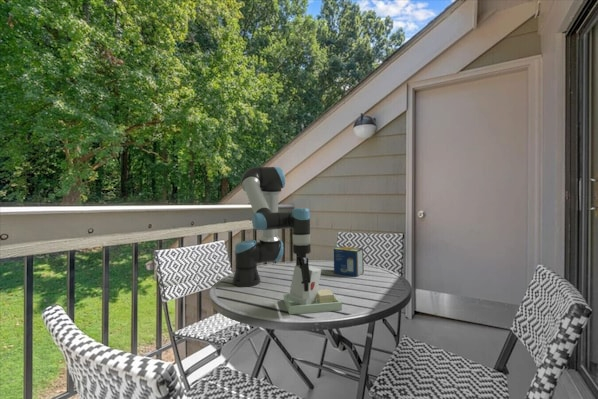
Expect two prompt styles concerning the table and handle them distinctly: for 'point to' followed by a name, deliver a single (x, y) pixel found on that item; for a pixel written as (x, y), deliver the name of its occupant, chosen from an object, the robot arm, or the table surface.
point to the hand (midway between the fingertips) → (302, 293)
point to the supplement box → (296, 286)
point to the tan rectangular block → (324, 296)
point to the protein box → (348, 261)
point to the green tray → (311, 306)
